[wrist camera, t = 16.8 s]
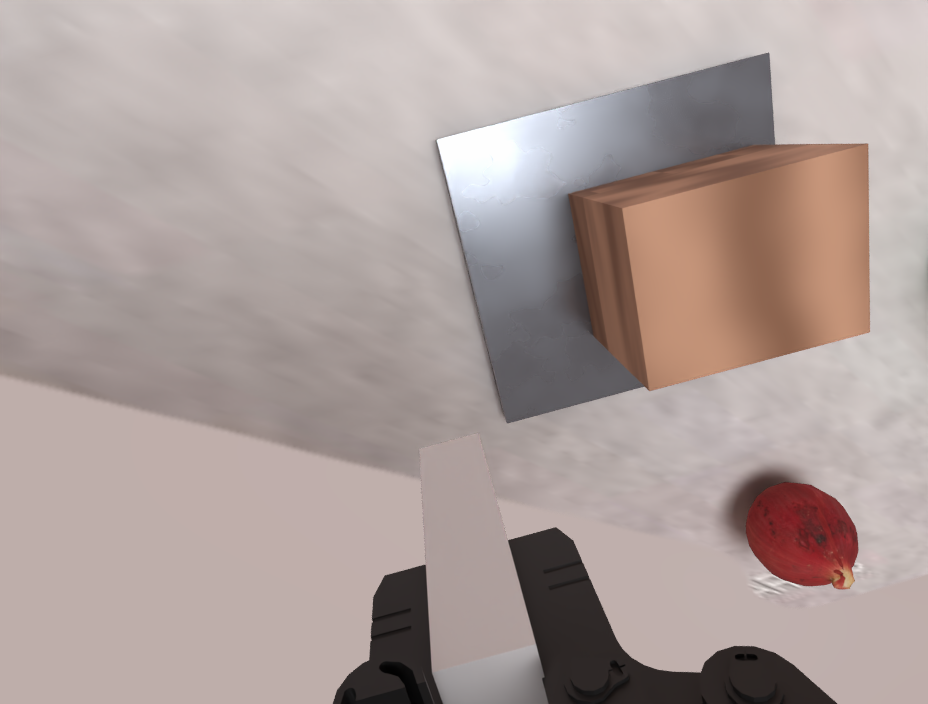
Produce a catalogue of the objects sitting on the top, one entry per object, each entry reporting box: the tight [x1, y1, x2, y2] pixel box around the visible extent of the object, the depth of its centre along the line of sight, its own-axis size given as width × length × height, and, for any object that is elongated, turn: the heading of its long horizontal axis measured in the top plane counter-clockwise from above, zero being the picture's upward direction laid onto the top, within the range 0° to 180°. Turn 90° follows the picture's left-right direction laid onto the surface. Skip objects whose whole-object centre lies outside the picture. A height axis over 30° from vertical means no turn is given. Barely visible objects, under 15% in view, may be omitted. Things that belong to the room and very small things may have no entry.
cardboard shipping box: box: [568, 144, 870, 391], centre depth 28 cm, size 10×8×8 cm
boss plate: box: [436, 53, 775, 423], centre depth 32 cm, size 17×16×3 cm
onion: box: [746, 482, 858, 589], centre depth 36 cm, size 6×6×8 cm
